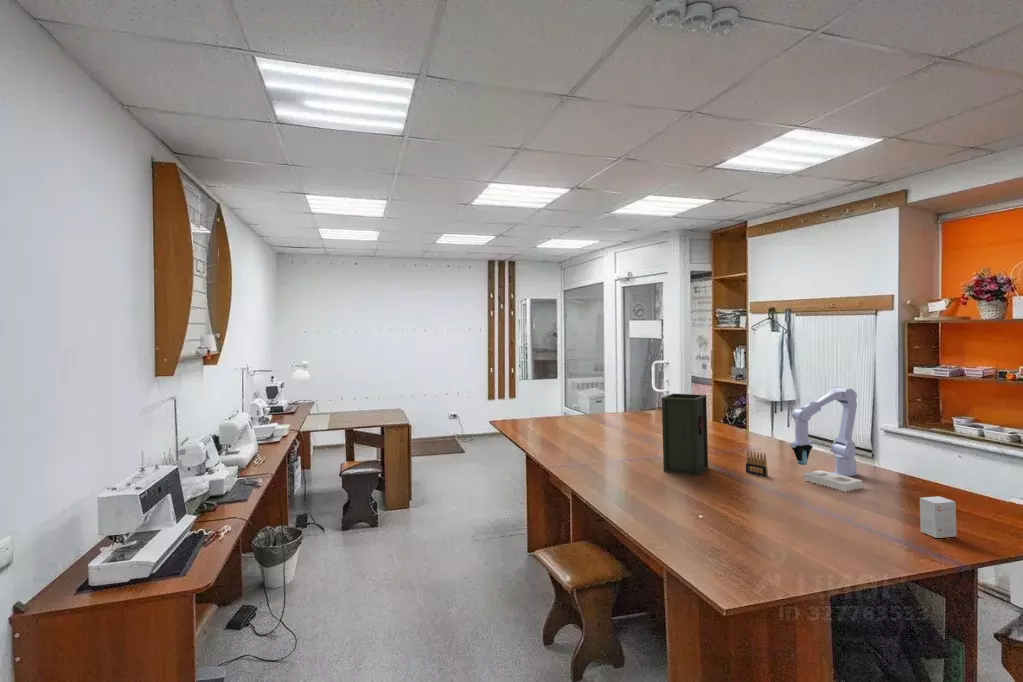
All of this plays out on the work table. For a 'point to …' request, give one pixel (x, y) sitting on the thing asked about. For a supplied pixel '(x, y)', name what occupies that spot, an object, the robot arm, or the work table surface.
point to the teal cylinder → (803, 458)
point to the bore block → (833, 480)
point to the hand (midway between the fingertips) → (802, 459)
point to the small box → (938, 516)
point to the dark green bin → (685, 433)
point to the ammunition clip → (756, 464)
